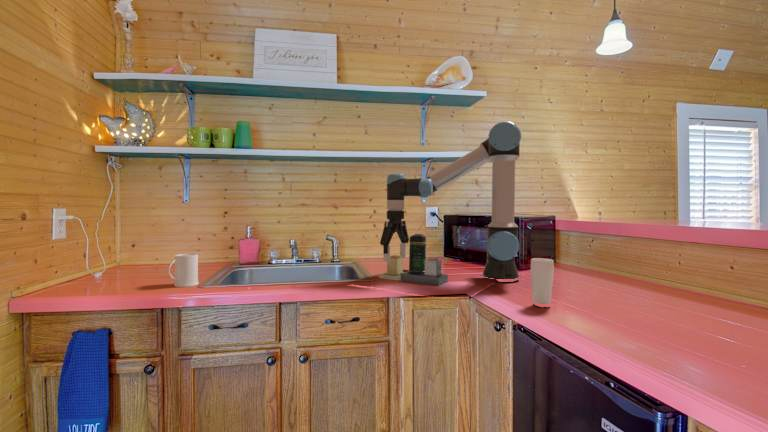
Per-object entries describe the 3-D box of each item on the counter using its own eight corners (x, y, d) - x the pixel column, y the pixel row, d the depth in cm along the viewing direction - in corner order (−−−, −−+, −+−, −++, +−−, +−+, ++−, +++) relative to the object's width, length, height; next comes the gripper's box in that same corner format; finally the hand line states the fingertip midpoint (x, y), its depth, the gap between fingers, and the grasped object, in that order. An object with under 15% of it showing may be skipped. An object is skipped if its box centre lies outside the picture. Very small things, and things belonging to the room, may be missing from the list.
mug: (173, 289, 137) (173, 257, 137) (161, 287, 142) (160, 255, 141) (203, 284, 147) (203, 254, 147) (190, 281, 152) (190, 252, 151)
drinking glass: (546, 303, 121) (547, 257, 121) (557, 309, 114) (558, 260, 114) (526, 303, 121) (527, 257, 120) (535, 309, 114) (536, 260, 114)
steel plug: (441, 282, 150) (441, 258, 149) (436, 284, 145) (436, 259, 145) (430, 280, 152) (430, 257, 152) (424, 282, 148) (424, 258, 148)
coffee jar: (425, 274, 172) (425, 234, 172) (408, 273, 173) (408, 234, 173) (426, 271, 181) (426, 233, 181) (410, 270, 183) (410, 233, 182)
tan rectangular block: (402, 278, 161) (403, 255, 160) (397, 279, 156) (397, 256, 156) (393, 276, 163) (393, 254, 163) (387, 278, 159) (387, 255, 159)
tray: (410, 278, 162) (410, 272, 162) (397, 282, 153) (397, 276, 153) (392, 276, 167) (392, 270, 167) (379, 280, 158) (379, 274, 157)
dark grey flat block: (447, 284, 150) (447, 274, 150) (438, 288, 143) (438, 278, 143) (411, 279, 159) (411, 270, 159) (400, 283, 152) (400, 273, 152)
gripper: (402, 209, 172) (402, 255, 172) (371, 210, 151) (371, 262, 151) (416, 210, 167) (416, 256, 168) (387, 210, 147) (387, 263, 147)
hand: (395, 259), depth 160 cm, fingers open, 13 cm apart
